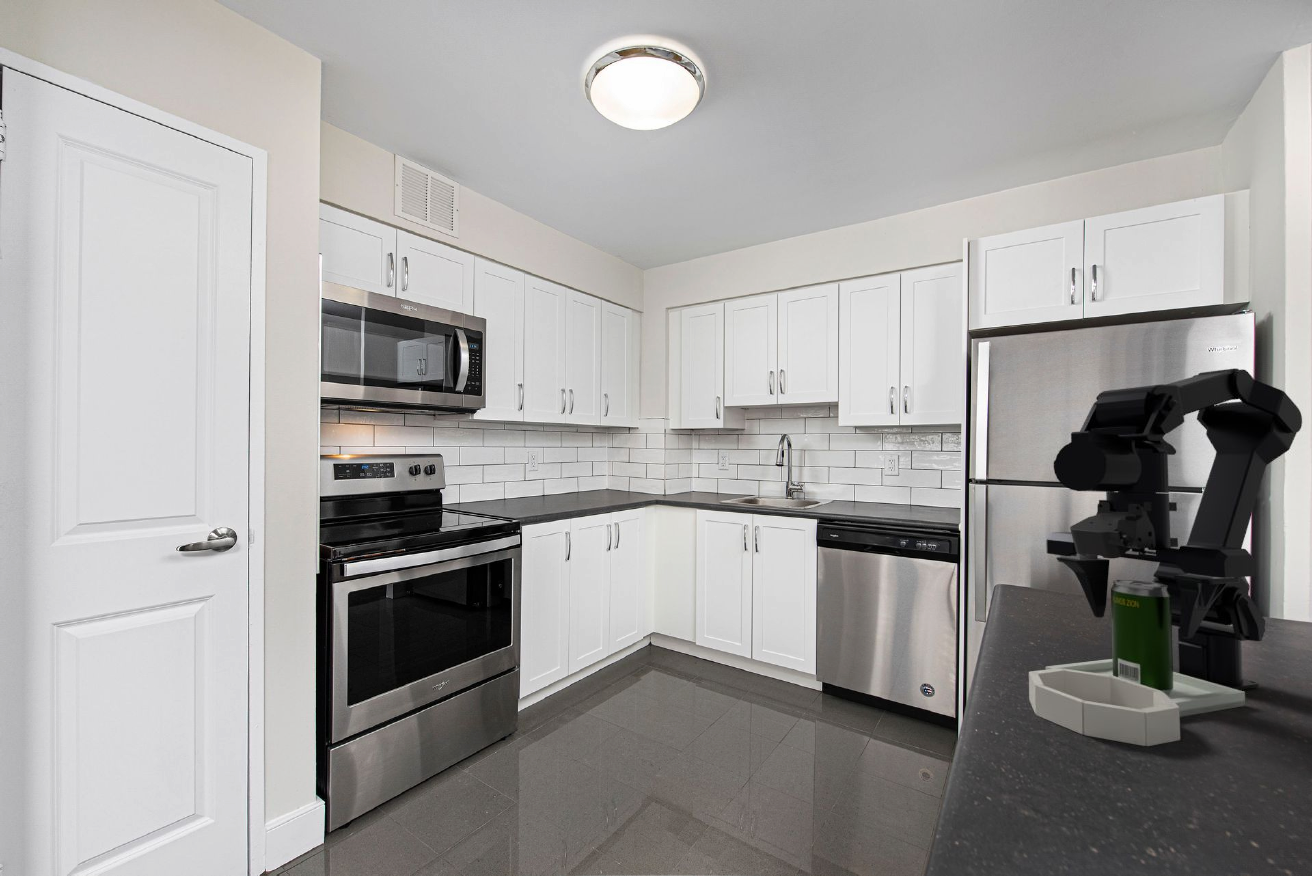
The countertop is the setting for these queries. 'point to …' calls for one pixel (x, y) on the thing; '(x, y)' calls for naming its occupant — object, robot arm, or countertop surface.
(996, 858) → the countertop surface
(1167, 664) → the beer can
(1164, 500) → the robot arm
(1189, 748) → the countertop surface
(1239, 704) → the tray
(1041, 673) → the cup
